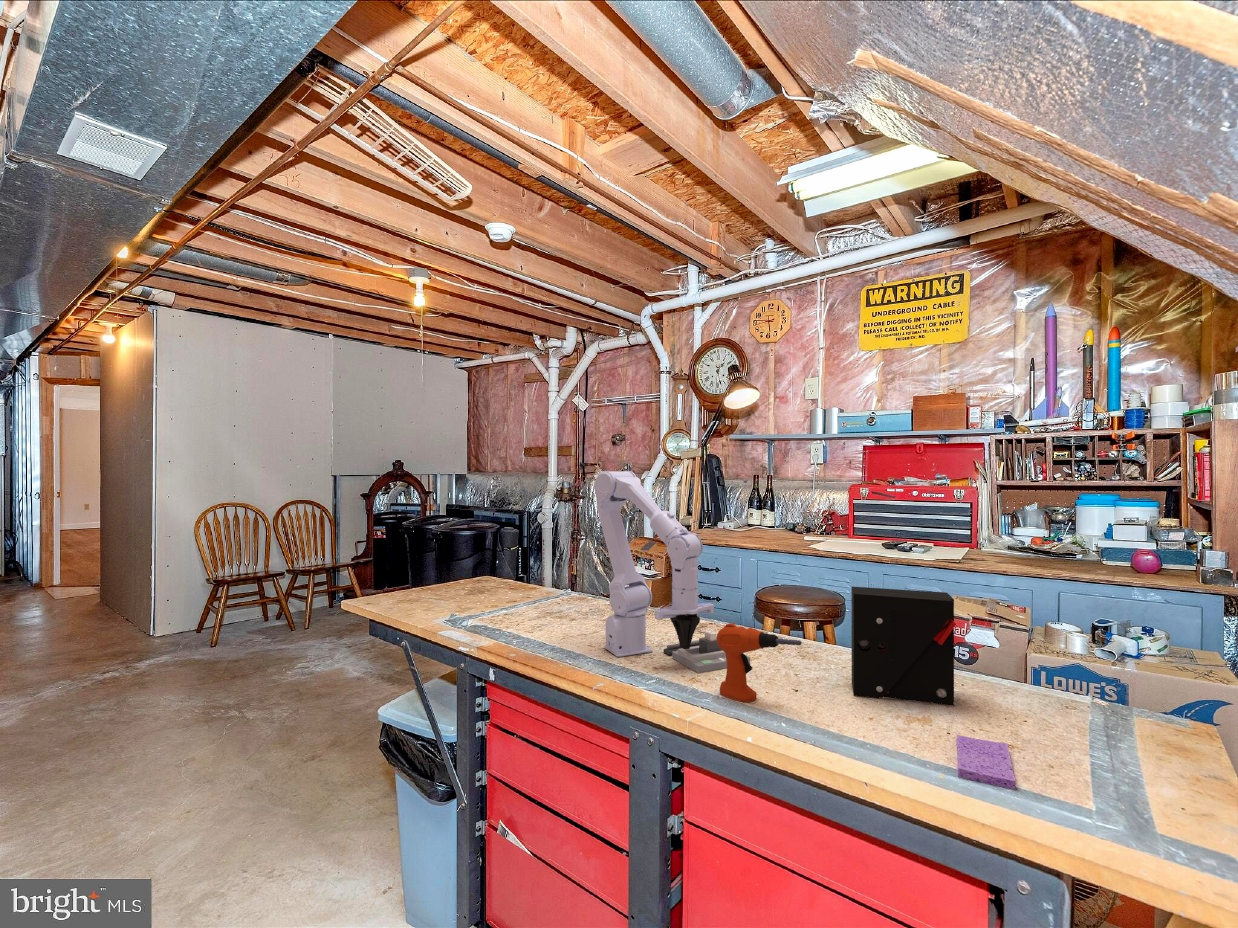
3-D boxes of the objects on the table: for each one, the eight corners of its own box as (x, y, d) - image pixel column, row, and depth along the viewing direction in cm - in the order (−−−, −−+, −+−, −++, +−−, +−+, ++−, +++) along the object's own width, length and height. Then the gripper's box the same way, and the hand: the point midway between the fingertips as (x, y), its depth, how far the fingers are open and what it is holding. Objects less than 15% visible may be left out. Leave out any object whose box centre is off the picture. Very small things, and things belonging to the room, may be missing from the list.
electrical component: (945, 689, 116) (944, 590, 116) (956, 709, 106) (956, 601, 106) (851, 678, 122) (850, 584, 122) (853, 697, 112) (853, 594, 112)
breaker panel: (698, 673, 125) (698, 660, 125) (672, 657, 135) (672, 646, 135) (750, 663, 131) (750, 651, 131) (721, 649, 141) (721, 638, 141)
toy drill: (804, 712, 102) (794, 629, 103) (715, 698, 113) (707, 624, 114) (814, 704, 105) (804, 624, 106) (727, 691, 117) (719, 620, 118)
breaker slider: (707, 657, 130) (707, 635, 131) (699, 652, 134) (699, 631, 134) (722, 654, 132) (722, 633, 132) (713, 650, 135) (713, 629, 135)
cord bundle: (669, 656, 136) (669, 646, 136) (663, 652, 138) (663, 643, 138) (718, 648, 142) (718, 639, 142) (712, 645, 144) (712, 636, 144)
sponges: (957, 780, 83) (957, 767, 83) (956, 743, 94) (956, 732, 94) (1016, 793, 80) (1016, 780, 80) (1007, 754, 91) (1007, 742, 91)
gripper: (665, 594, 123) (665, 657, 123) (721, 588, 129) (721, 648, 129) (650, 587, 130) (650, 648, 130) (704, 582, 136) (704, 639, 136)
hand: (684, 647), depth 130 cm, fingers closed
